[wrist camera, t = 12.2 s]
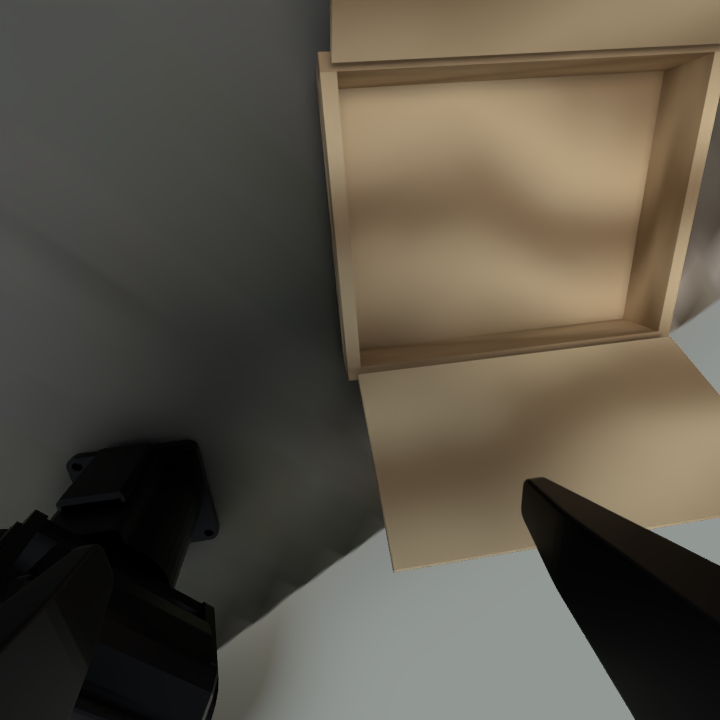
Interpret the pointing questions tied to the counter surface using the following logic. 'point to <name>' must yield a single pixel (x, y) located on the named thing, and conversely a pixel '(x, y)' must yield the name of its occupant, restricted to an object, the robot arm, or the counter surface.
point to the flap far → (539, 444)
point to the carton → (511, 198)
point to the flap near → (513, 26)
